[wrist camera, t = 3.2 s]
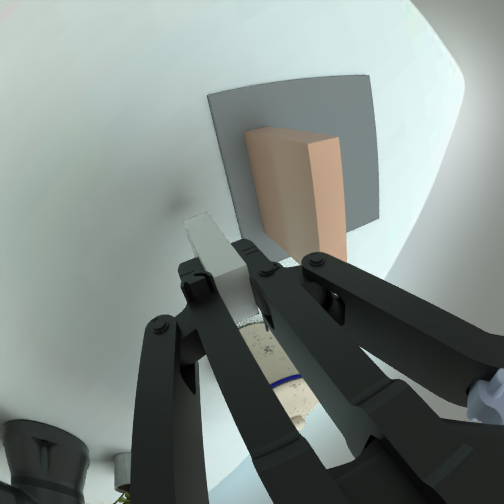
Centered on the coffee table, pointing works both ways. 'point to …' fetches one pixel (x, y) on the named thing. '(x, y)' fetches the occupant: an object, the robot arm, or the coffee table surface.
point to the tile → (299, 190)
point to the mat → (303, 119)
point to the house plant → (123, 476)
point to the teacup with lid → (280, 373)
